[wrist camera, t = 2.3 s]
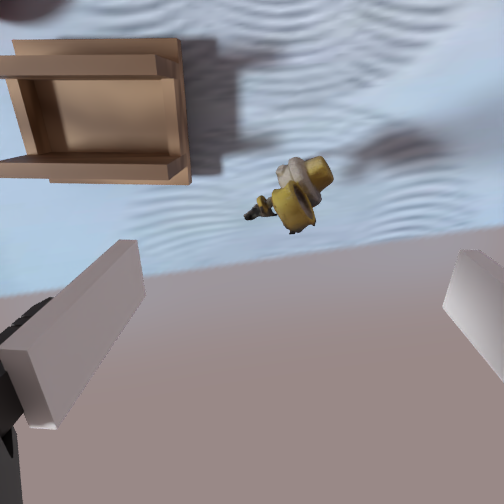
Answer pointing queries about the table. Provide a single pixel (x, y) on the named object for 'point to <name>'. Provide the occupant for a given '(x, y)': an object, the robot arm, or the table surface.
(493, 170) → the table surface
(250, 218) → the regulator
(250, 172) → the table surface
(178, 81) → the stand
